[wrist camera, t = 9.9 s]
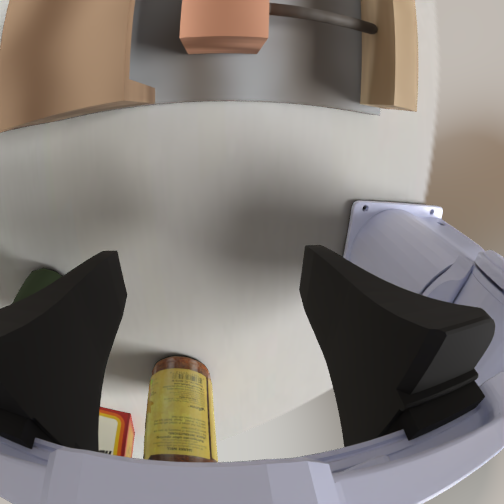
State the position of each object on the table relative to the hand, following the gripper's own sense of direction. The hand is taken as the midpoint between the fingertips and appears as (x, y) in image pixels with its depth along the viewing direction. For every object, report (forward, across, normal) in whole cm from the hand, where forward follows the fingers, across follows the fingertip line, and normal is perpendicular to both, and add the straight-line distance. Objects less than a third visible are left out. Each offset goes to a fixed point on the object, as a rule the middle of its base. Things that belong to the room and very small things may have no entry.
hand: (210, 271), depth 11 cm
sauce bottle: (+10, +4, +18) cm, 21 cm away
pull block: (+8, -5, -12) cm, 15 cm away
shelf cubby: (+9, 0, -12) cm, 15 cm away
